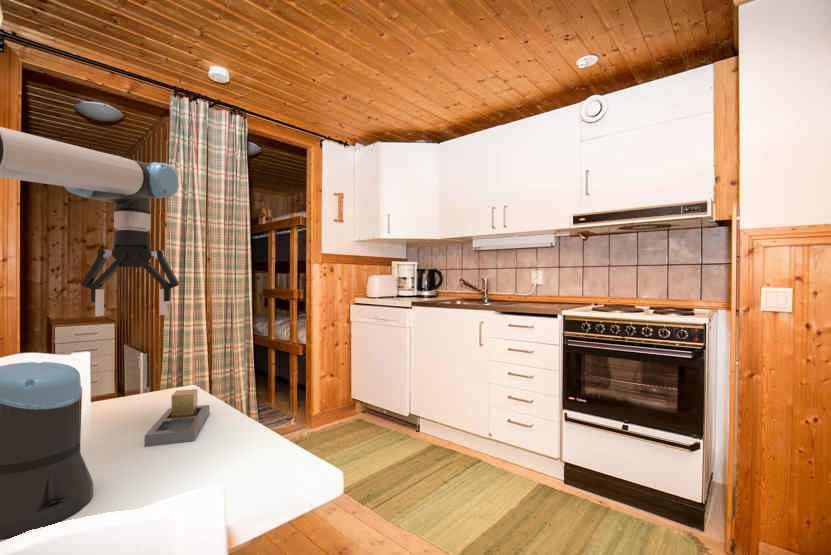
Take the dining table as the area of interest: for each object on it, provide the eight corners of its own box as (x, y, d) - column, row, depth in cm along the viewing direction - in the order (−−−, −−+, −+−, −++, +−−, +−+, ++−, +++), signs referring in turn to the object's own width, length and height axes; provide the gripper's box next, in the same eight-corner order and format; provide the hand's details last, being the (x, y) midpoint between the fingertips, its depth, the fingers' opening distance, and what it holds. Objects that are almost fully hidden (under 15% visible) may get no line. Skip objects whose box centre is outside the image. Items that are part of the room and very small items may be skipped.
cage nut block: (193, 424, 103) (193, 393, 103) (171, 427, 102) (171, 395, 102) (197, 418, 108) (197, 389, 108) (176, 420, 107) (176, 390, 107)
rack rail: (194, 441, 93) (194, 430, 93) (144, 446, 90) (144, 435, 90) (209, 413, 112) (209, 404, 112) (168, 417, 109) (168, 408, 109)
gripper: (191, 234, 108) (191, 312, 107) (80, 230, 100) (79, 315, 100) (184, 230, 101) (184, 315, 100) (64, 226, 93) (63, 317, 93)
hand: (131, 315), depth 100 cm, fingers open, 13 cm apart
